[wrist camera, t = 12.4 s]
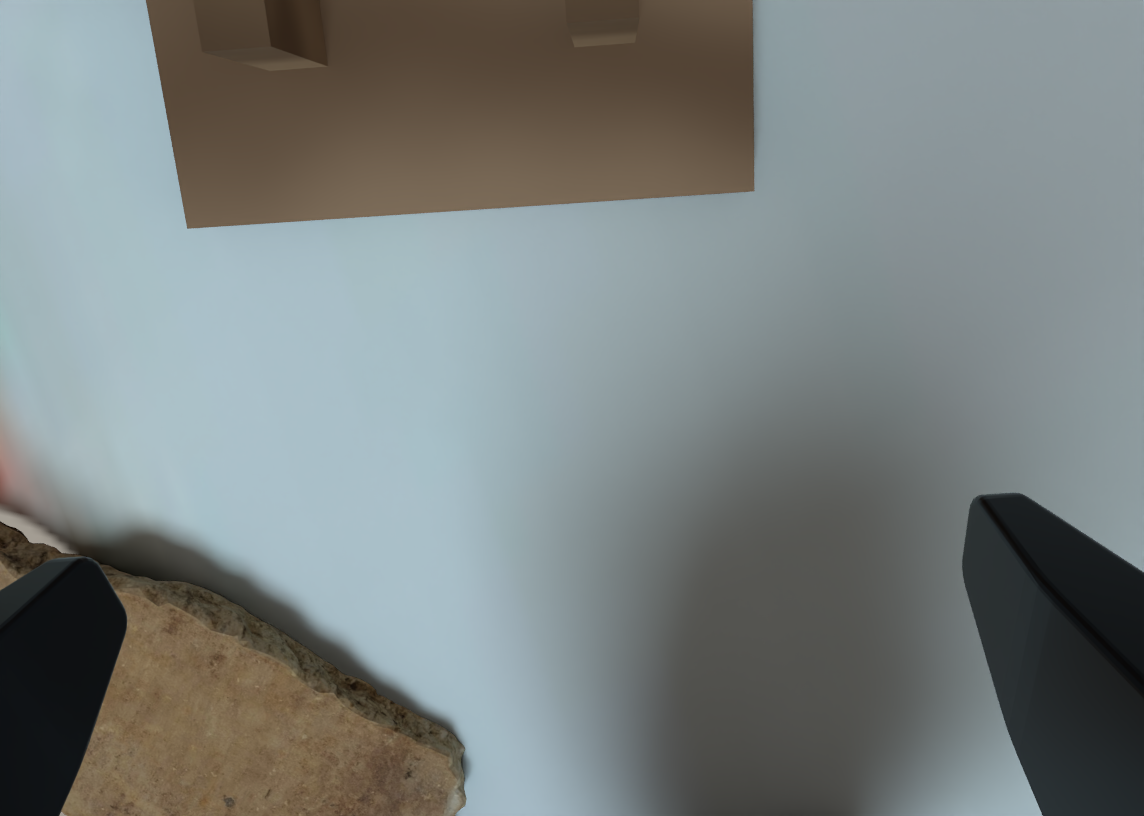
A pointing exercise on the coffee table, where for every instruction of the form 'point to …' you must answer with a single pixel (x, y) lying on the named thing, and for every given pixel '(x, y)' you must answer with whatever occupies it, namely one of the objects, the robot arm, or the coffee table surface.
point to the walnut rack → (450, 104)
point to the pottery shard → (241, 718)
